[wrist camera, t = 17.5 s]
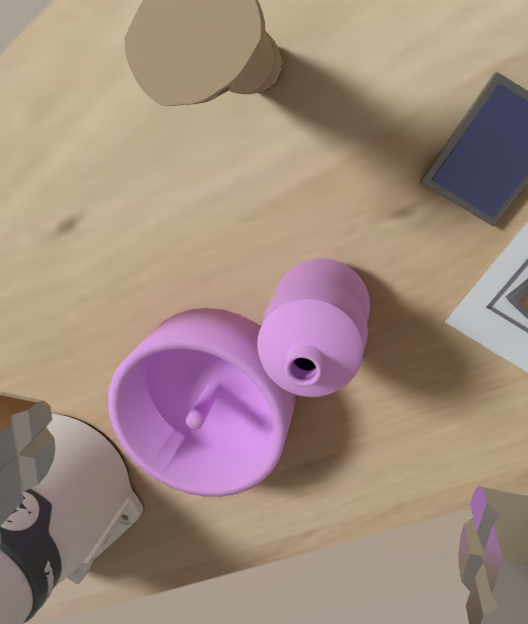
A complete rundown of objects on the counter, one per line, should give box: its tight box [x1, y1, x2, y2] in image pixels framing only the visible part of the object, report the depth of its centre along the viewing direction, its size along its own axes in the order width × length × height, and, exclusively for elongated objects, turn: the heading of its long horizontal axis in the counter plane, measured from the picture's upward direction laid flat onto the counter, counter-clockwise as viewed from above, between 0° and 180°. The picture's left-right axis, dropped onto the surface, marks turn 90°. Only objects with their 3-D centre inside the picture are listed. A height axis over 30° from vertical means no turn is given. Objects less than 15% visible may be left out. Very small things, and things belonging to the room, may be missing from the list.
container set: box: [108, 259, 370, 497], centre depth 38 cm, size 25×15×13 cm, turn 135°
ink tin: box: [421, 72, 528, 226], centre depth 34 cm, size 8×6×1 cm
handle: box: [125, 0, 284, 106], centre depth 28 cm, size 5×6×15 cm
